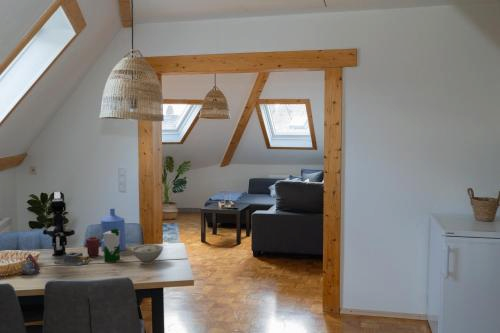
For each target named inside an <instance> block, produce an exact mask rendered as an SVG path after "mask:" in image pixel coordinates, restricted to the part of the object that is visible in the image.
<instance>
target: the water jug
mask: <svg viewBox="0 0 500 333" xmlns="http://www.w3.org/2000/svg"><path fill="white" fill-rule="evenodd" d="M109 210H110V211H109V215H107V216H106V217H104V218H102V219H101V220H100V230H101V232H102V234H103V233H105V232H108V231H111V229H118V231H120V237H119V244H120V252H121V251H124V250H125V249H126V238H125V237H126V231H125V230H126V229H125V224H126V223H125V218H124V217H121V216H119V215H117V214H116V211H115V210H116V209H115V208H109ZM101 251H102V252H104V237H102V239H101Z"/></svg>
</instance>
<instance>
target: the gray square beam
mask: <svg viewBox="0 0 500 333" xmlns="http://www.w3.org/2000/svg"><path fill="white" fill-rule="evenodd" d="M56 246H57V250H61V249H62V246H60V238H59V237H58V236H57V237H56Z"/></svg>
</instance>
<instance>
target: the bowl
mask: <svg viewBox="0 0 500 333" xmlns="http://www.w3.org/2000/svg"><path fill="white" fill-rule="evenodd" d="M163 250H164V246H161V245H159V244H143V245H137V246H135V247H132V248H131V251H132V254H133V255H134V257H135V258H137V259H138V260H139V261H141V262H142V263H141V264H143V265H150V264H151V265H152V264H154V261H155V260H156V259H158V258H159V256H160V255H161V254H162V252H163Z"/></svg>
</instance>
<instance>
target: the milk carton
mask: <svg viewBox="0 0 500 333" xmlns="http://www.w3.org/2000/svg"><path fill="white" fill-rule="evenodd" d="M102 236H103V237H104V251H103V256H104V260H103V261H104V263H106V262H107V263H117V262H118V261H119V260H121V253H120V252H121V251H120V244H119V237H120V231H118V229H111V231H108V232H105V233H103V232H102ZM103 237H102V238H103Z"/></svg>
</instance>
